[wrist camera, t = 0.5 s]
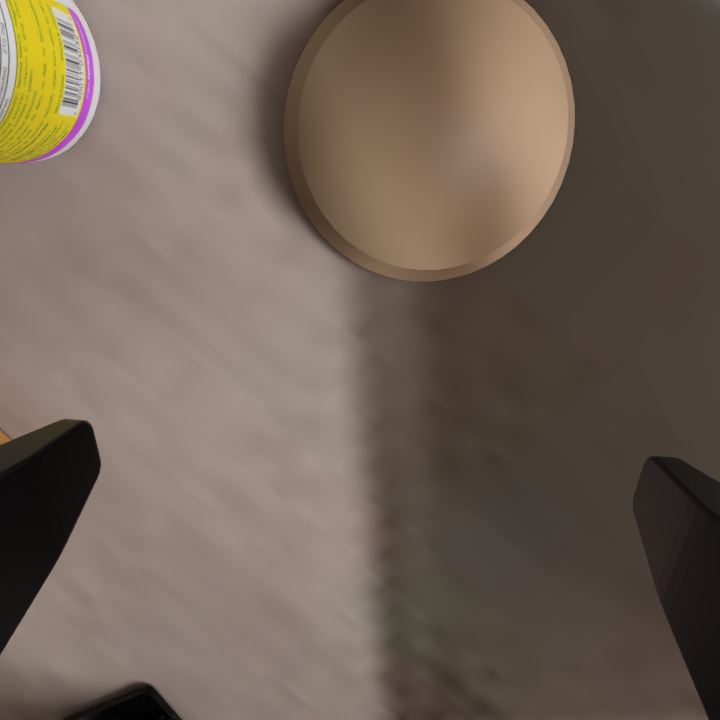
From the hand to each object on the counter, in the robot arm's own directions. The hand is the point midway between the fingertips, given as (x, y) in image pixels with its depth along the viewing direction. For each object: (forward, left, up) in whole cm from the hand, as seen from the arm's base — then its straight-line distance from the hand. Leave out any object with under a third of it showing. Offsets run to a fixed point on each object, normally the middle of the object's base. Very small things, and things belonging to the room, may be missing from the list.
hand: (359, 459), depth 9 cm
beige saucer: (+4, +4, -14) cm, 15 cm away
